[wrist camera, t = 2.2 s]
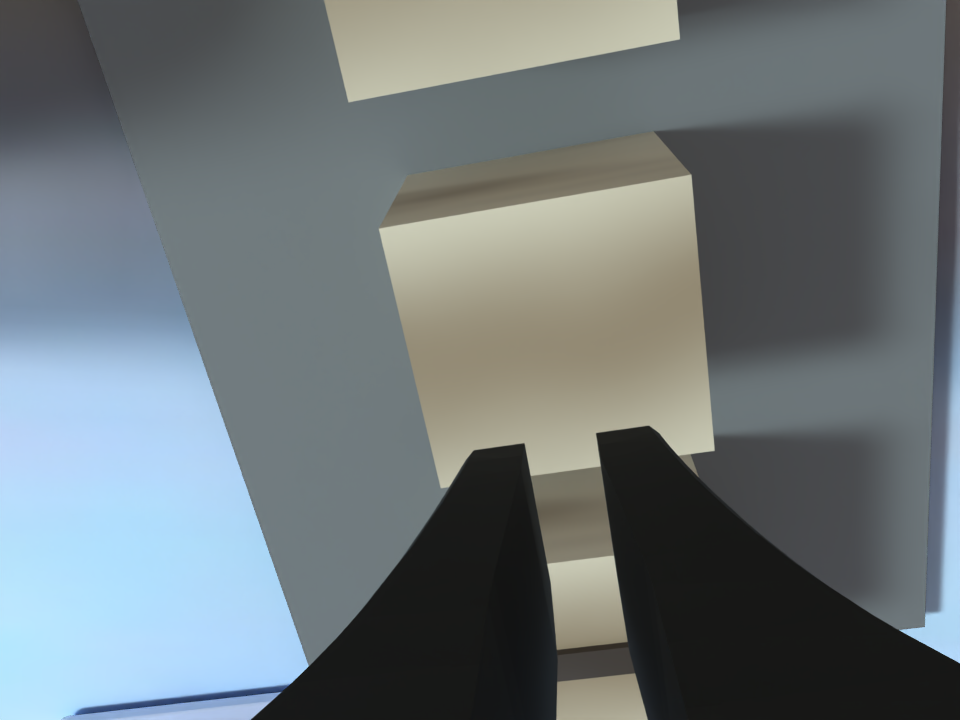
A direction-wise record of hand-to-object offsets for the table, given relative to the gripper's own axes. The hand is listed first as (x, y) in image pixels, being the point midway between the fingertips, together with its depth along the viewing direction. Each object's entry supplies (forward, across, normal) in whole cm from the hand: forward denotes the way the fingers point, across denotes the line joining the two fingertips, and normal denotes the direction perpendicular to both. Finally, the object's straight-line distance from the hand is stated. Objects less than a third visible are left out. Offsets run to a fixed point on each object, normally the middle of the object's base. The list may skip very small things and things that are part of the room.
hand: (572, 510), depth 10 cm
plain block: (+9, 0, 0) cm, 9 cm away
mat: (+9, 0, 0) cm, 9 cm away
